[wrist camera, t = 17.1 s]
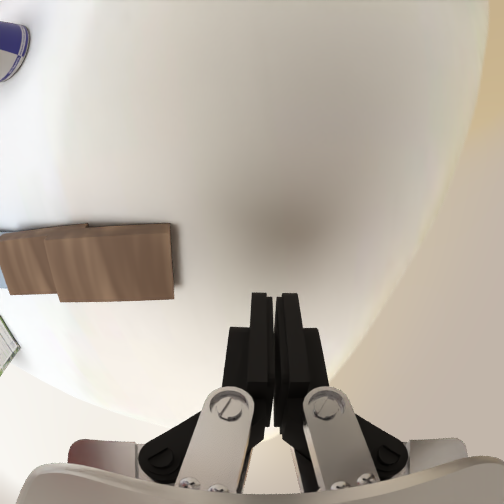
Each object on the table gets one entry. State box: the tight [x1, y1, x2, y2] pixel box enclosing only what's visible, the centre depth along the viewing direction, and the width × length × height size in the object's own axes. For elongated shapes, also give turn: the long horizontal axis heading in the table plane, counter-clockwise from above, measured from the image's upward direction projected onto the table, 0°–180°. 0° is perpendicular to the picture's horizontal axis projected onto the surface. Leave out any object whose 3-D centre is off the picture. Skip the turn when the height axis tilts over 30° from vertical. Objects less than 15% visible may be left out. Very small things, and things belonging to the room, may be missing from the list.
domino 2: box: [44, 223, 174, 302], centre depth 18 cm, size 2×5×9 cm
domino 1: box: [0, 223, 89, 295], centre depth 18 cm, size 2×5×9 cm
